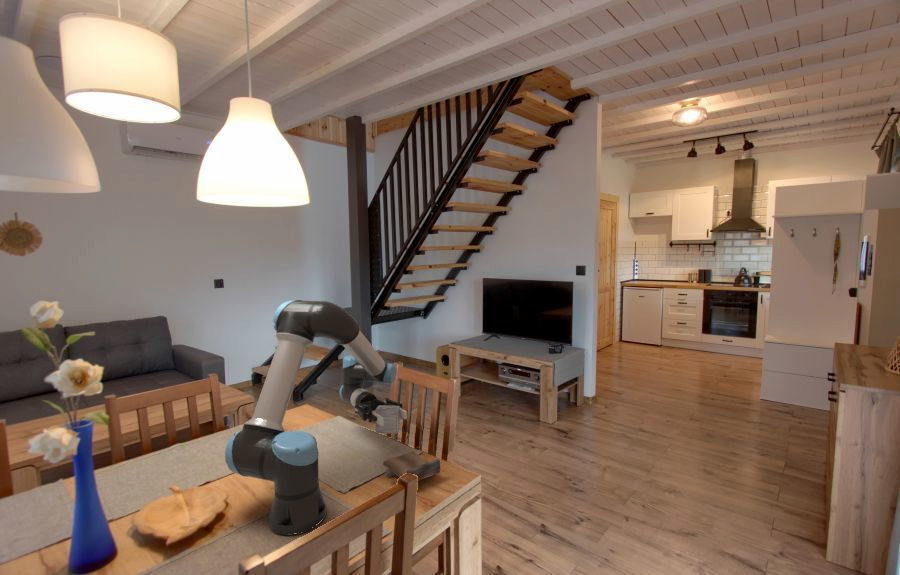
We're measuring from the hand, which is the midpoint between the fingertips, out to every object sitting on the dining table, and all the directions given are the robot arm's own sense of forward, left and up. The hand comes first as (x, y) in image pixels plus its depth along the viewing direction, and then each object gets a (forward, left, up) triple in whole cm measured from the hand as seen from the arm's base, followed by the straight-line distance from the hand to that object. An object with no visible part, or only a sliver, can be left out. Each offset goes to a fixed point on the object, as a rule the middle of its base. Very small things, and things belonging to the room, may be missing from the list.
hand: (394, 418), depth 145 cm
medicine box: (0, +5, -6) cm, 8 cm away
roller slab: (+1, -8, -17) cm, 19 cm away
